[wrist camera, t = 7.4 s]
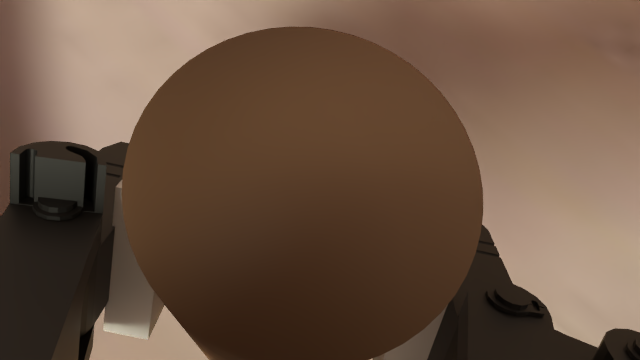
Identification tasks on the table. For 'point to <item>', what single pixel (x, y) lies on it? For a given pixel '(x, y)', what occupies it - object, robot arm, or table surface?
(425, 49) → the table surface
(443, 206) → the pin
